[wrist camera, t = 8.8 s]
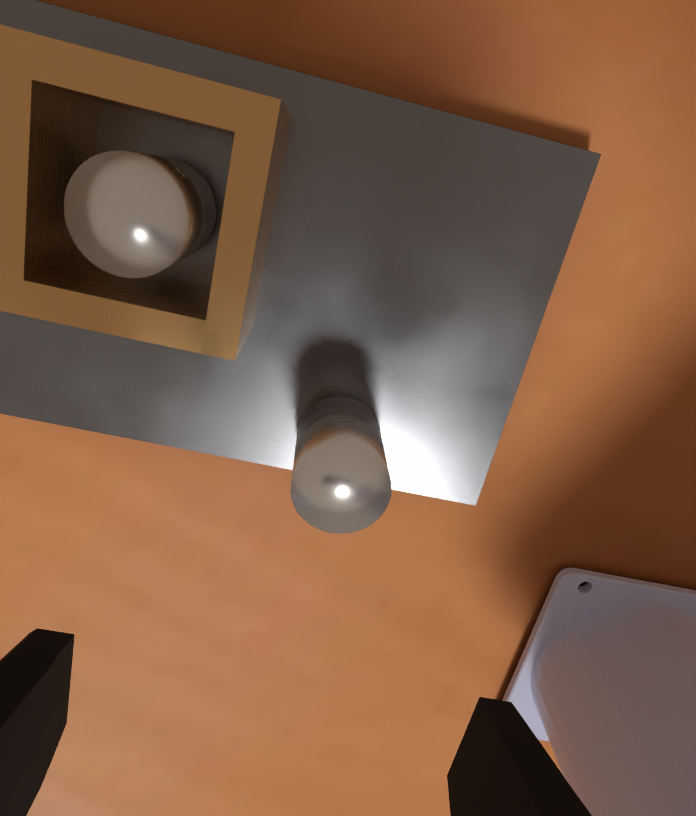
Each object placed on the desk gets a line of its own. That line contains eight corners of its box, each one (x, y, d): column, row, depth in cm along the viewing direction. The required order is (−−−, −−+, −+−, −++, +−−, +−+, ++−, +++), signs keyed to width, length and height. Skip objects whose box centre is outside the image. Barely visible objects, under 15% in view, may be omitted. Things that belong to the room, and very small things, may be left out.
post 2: (389, 406, 18) (403, 455, 15) (369, 479, 19) (377, 541, 16) (306, 388, 18) (302, 435, 15) (289, 463, 19) (281, 523, 16)
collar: (291, 116, 15) (281, 99, 12) (253, 324, 17) (234, 360, 14) (67, 57, 15) (-11, 21, 11) (54, 281, 17) (-16, 307, 13)
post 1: (223, 169, 16) (195, 168, 12) (208, 267, 17) (179, 289, 13) (122, 145, 15) (68, 136, 12) (113, 246, 16) (60, 263, 13)
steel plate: (588, 155, 17) (600, 154, 16) (470, 493, 20) (475, 505, 20) (-8, -7, 15) (-26, -17, 14) (-15, 398, 19) (-30, 407, 18)
